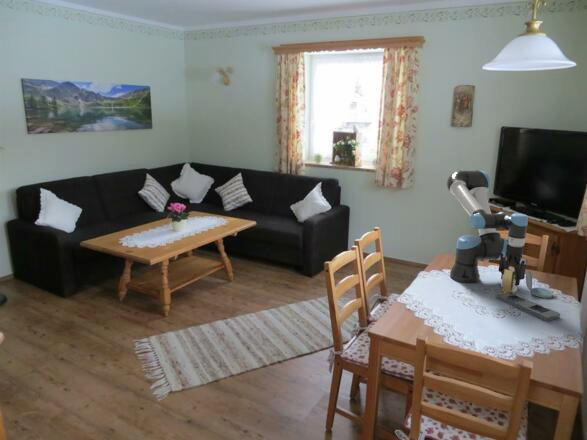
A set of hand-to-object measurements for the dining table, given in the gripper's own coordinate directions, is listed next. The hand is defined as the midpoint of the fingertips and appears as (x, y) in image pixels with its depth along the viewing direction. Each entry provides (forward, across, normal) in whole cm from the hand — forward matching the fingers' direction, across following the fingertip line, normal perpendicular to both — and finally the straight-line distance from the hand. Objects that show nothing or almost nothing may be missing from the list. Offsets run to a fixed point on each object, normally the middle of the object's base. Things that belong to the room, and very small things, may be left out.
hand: (508, 288), depth 216 cm
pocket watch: (+2, +9, +12) cm, 15 cm away
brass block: (+2, 0, 0) cm, 2 cm away
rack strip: (+2, +16, -8) cm, 18 cm away
